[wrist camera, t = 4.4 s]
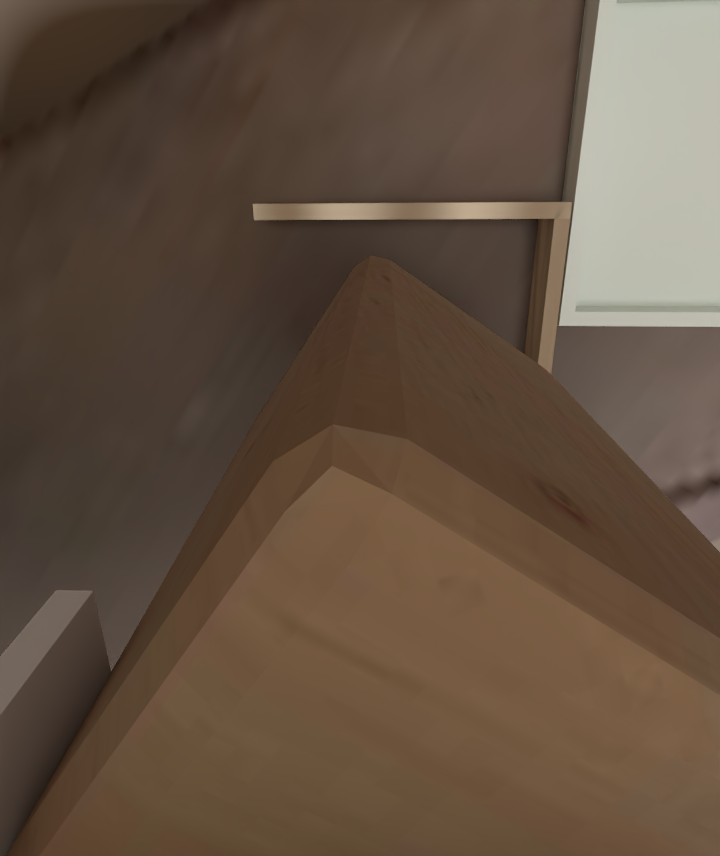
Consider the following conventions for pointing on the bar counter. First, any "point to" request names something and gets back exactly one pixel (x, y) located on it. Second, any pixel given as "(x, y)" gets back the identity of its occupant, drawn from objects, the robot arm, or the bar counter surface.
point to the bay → (548, 214)
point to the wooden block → (412, 626)
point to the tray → (644, 167)
